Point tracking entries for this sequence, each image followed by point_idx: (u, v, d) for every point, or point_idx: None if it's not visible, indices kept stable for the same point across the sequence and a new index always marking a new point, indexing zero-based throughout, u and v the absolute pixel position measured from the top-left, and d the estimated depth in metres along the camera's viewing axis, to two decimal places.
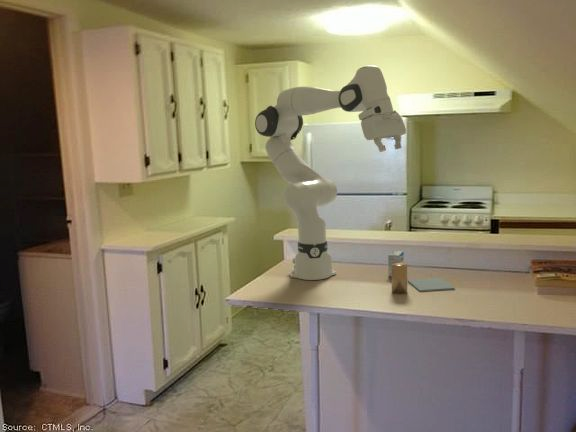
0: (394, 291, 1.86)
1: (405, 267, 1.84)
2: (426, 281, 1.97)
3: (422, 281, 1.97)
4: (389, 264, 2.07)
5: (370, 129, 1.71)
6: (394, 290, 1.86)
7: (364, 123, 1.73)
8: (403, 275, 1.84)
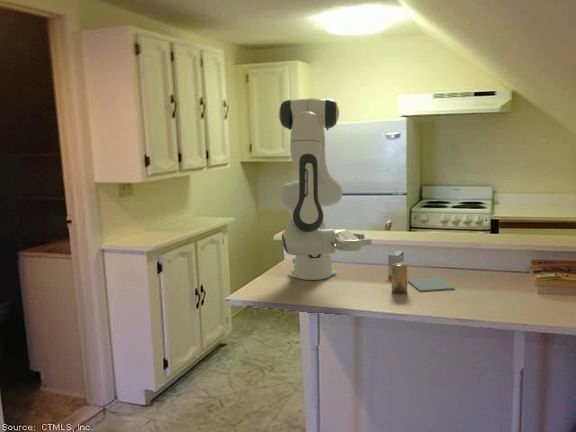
0: (394, 291, 1.86)
1: (405, 267, 1.84)
2: (426, 281, 1.97)
3: (422, 281, 1.97)
4: (389, 264, 2.07)
5: None
6: (394, 290, 1.86)
7: None
8: (403, 275, 1.84)
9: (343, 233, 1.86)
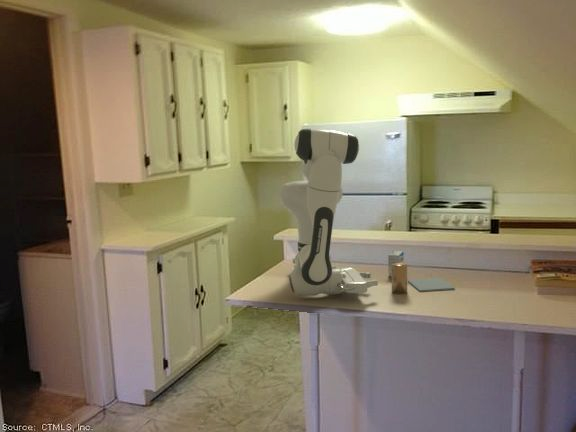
0: (394, 291, 1.86)
1: (405, 267, 1.84)
2: (426, 281, 1.97)
3: (422, 281, 1.97)
4: (389, 264, 2.07)
5: None
6: (394, 290, 1.86)
7: None
8: (403, 275, 1.84)
9: (349, 272, 1.88)
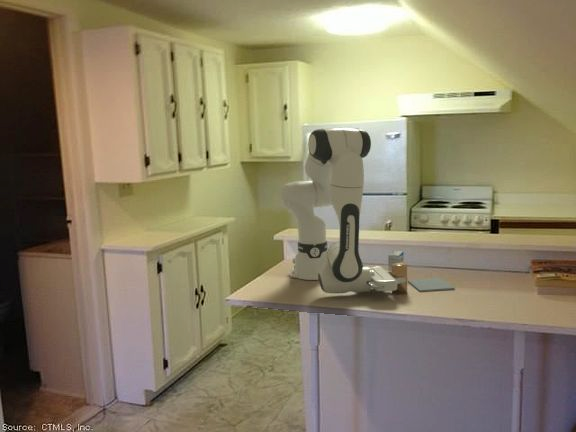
0: (394, 291, 1.86)
1: (405, 267, 1.84)
2: (426, 281, 1.97)
3: (422, 281, 1.97)
4: (389, 264, 2.07)
5: None
6: (394, 290, 1.86)
7: None
8: (403, 275, 1.84)
9: (377, 271, 1.89)
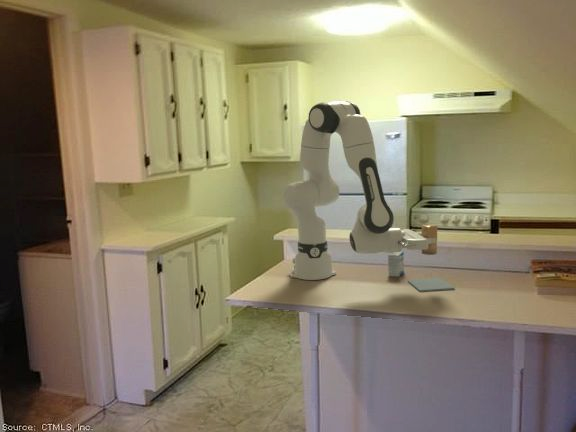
0: (424, 252, 1.89)
1: (435, 228, 1.87)
2: (426, 281, 1.97)
3: (422, 281, 1.97)
4: (389, 264, 2.07)
5: None
6: (424, 251, 1.89)
7: None
8: (433, 235, 1.87)
9: (407, 232, 1.93)
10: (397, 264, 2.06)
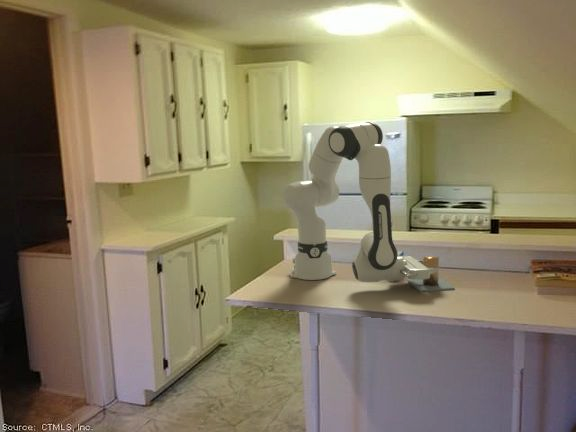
0: (426, 283, 1.92)
1: (437, 260, 1.90)
2: None
3: (422, 281, 1.97)
4: None
5: None
6: (426, 282, 1.92)
7: None
8: None
9: (409, 260, 1.95)
10: None
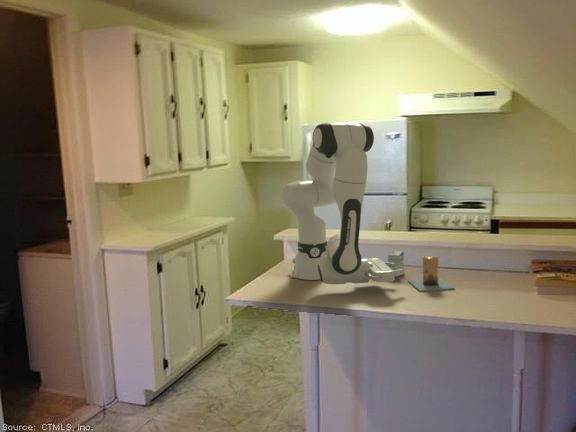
0: (426, 283, 1.92)
1: (436, 259, 1.90)
2: None
3: (422, 281, 1.97)
4: None
5: None
6: (426, 282, 1.92)
7: None
8: (435, 267, 1.90)
9: (376, 262, 1.94)
10: (397, 264, 2.06)
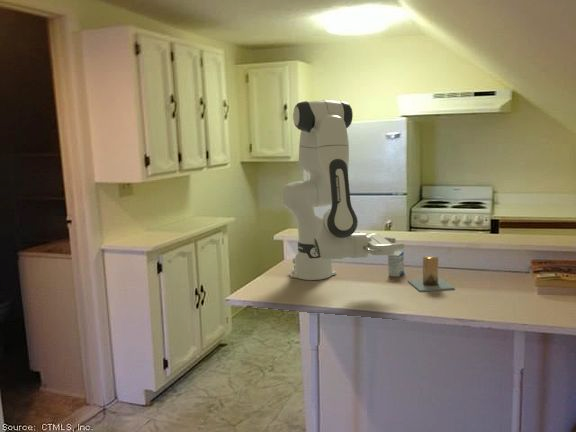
0: (426, 283, 1.92)
1: (436, 259, 1.90)
2: None
3: (422, 281, 1.97)
4: (389, 264, 2.07)
5: None
6: (426, 282, 1.92)
7: None
8: (435, 267, 1.90)
9: (374, 237, 1.87)
10: (397, 264, 2.06)
